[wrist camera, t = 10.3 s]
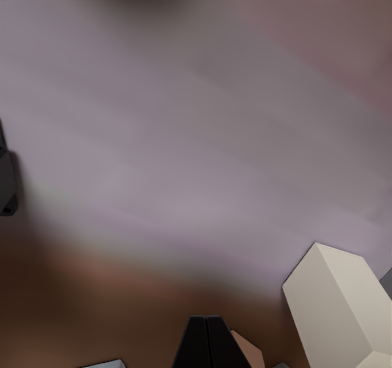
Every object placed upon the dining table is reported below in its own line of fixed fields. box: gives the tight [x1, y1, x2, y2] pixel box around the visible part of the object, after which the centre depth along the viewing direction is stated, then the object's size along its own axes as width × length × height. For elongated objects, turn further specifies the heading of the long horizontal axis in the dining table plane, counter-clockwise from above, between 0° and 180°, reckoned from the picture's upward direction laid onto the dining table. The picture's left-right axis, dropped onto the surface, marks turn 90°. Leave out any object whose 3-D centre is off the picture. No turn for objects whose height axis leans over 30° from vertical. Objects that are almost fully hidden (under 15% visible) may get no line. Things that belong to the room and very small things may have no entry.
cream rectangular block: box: [282, 242, 392, 368], centre depth 22 cm, size 4×4×8 cm
